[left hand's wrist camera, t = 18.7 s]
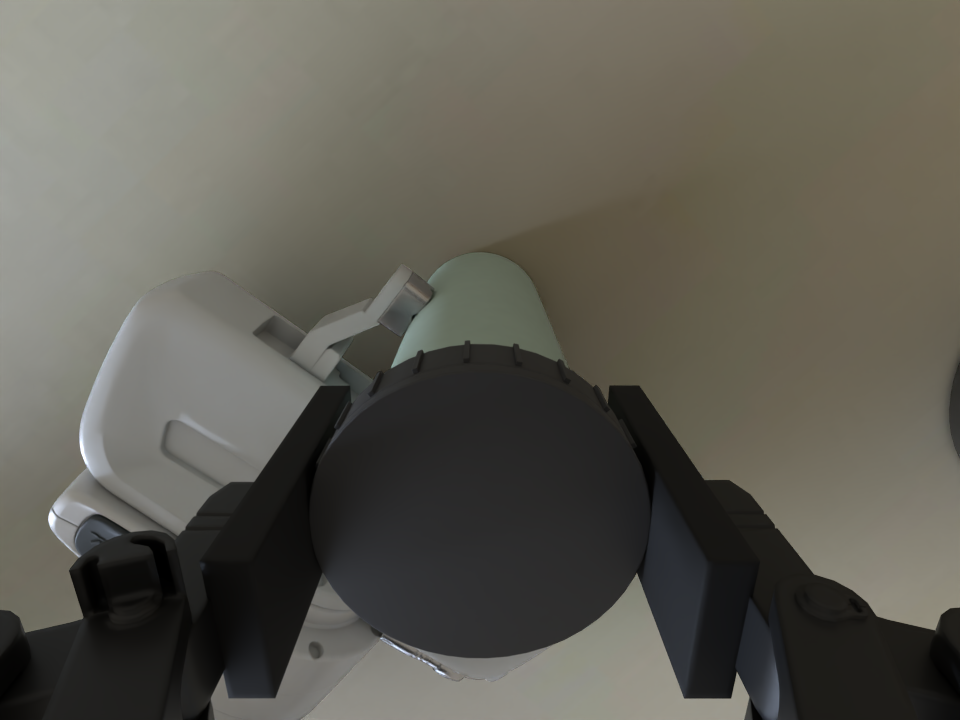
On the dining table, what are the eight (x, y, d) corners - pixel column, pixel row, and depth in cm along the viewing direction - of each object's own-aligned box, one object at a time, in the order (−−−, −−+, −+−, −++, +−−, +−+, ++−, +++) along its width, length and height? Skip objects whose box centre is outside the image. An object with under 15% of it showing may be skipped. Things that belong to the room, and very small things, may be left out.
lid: (309, 580, 13) (288, 634, 12) (347, 307, 11) (327, 330, 9) (584, 627, 14) (597, 683, 12) (676, 375, 11) (705, 408, 10)
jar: (458, 228, 24) (427, 331, 10) (563, 291, 25) (670, 467, 11) (398, 331, 26) (299, 546, 12) (499, 388, 27) (521, 648, 13)
